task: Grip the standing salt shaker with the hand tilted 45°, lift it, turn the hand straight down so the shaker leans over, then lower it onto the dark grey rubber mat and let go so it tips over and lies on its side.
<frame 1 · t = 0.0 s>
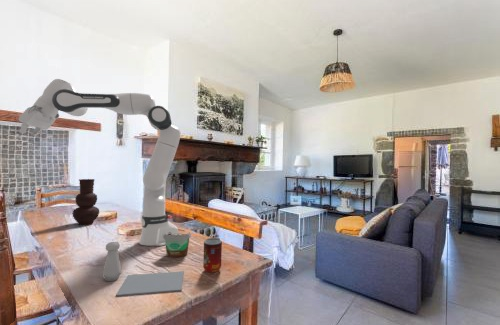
hand: (27, 134, 114), 54 cm above the table, tool tilted 30°, fingers open, 8 cm apart
salt shaker: (111, 279, 89), on the table
vase: (85, 224, 166), on the table
food container: (176, 256, 111), on the table
soda can: (212, 271, 97), on the table
mat: (153, 283, 86), on the table
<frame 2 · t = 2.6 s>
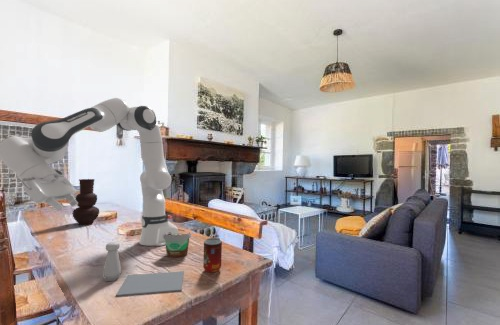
hand: (69, 207, 86), 26 cm above the table, tool tilted 40°, fingers open, 8 cm apart
nothing on the table moved.
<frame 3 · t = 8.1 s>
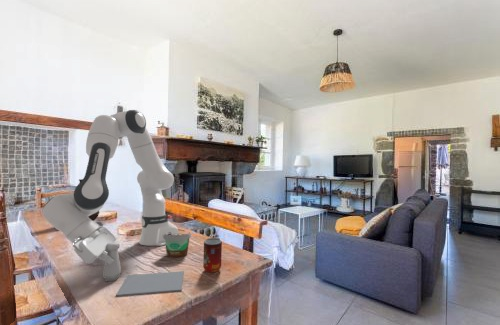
hand: (114, 259, 89), 7 cm above the table, tool tilted 45°, fingers closed on salt shaker, 3 cm apart
salt shaker: (111, 279, 89), on the table, touching gripper
everything else where it was.
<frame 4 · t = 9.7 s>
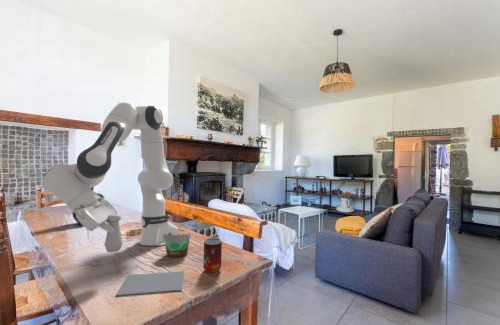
hand: (115, 229, 89), 18 cm above the table, tool tilted 45°, fingers closed on salt shaker, 3 cm apart
salt shaker: (113, 250, 89), point 10 cm above the table, touching gripper
everything else where it was.
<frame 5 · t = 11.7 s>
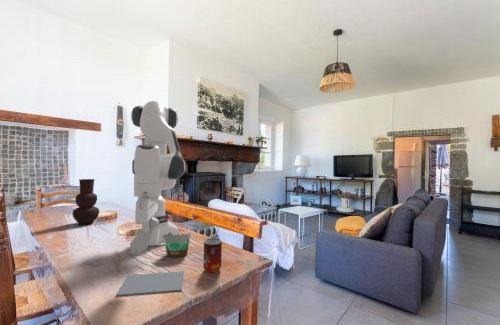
hand: (148, 229, 86), 19 cm above the table, tool pointing down, fingers closed on salt shaker, 3 cm apart
salt shaker: (135, 252, 85), point 11 cm above the table, touching gripper
everything else where it was.
when the fingers open (8 cm above the table, at t = 15.3 s): salt shaker moves 3 cm, resting on mat.
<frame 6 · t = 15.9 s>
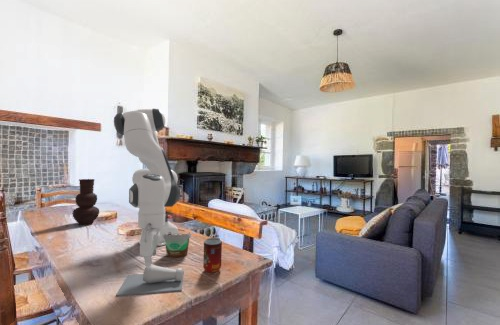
hand: (150, 260, 86), 8 cm above the table, tool pointing down, fingers open, 8 cm apart
salt shaker: (143, 273, 85), point 4 cm above the table, touching mat
everything else where it was.
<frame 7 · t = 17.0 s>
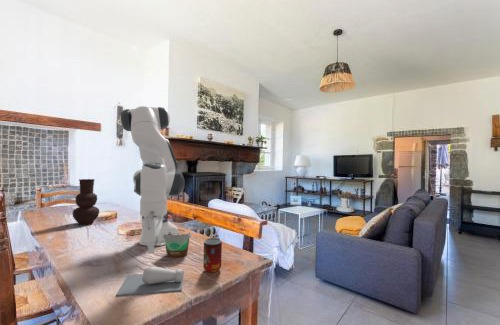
hand: (153, 247, 87), 12 cm above the table, tool pointing down, fingers open, 8 cm apart
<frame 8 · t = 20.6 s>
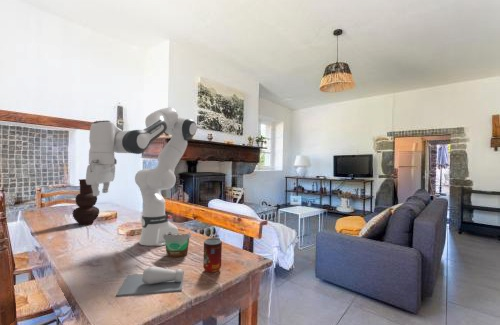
hand: (100, 194, 99), 29 cm above the table, tool pointing down, fingers open, 8 cm apart
nothing on the table moved.
at the end: salt shaker tilted 95°; salt shaker inside the target area on the mat (1.1 cm from its centre), point 3.6 cm above the mat's base; the gripper is holding nothing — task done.
